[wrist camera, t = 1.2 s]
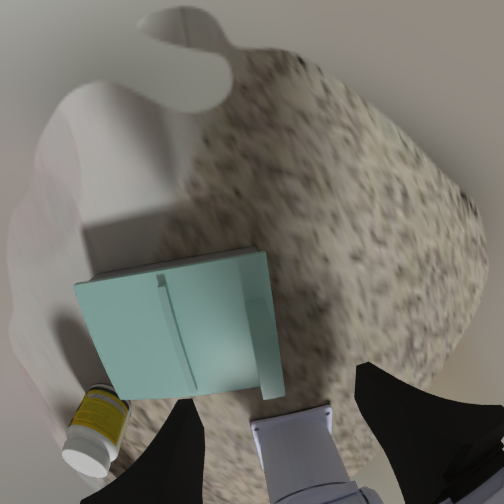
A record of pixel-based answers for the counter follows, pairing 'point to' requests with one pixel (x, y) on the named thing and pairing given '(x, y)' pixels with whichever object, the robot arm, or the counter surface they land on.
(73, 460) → the supplement bottle
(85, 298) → the lid
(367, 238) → the counter surface
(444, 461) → the robot arm
